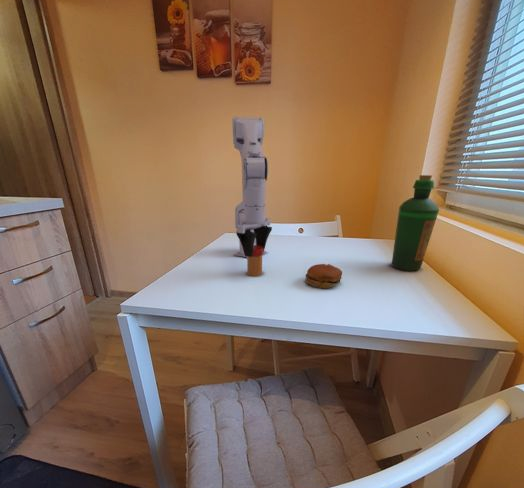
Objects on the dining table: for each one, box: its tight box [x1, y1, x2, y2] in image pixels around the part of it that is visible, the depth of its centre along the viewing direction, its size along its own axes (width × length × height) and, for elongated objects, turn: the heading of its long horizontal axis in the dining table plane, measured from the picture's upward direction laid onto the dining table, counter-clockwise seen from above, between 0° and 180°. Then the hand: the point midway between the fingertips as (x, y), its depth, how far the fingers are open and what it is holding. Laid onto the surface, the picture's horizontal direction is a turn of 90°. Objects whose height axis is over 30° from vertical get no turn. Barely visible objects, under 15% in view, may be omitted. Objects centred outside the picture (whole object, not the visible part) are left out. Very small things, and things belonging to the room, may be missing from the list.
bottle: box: [391, 174, 440, 272], centre depth 85 cm, size 11×11×28 cm
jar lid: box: [252, 245, 264, 256], centre depth 81 cm, size 5×5×2 cm
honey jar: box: [246, 255, 263, 277], centre depth 82 cm, size 4×4×8 cm
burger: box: [305, 263, 343, 289], centre depth 77 cm, size 10×9×5 cm
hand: (254, 253), depth 81 cm, fingers open, 6 cm apart
